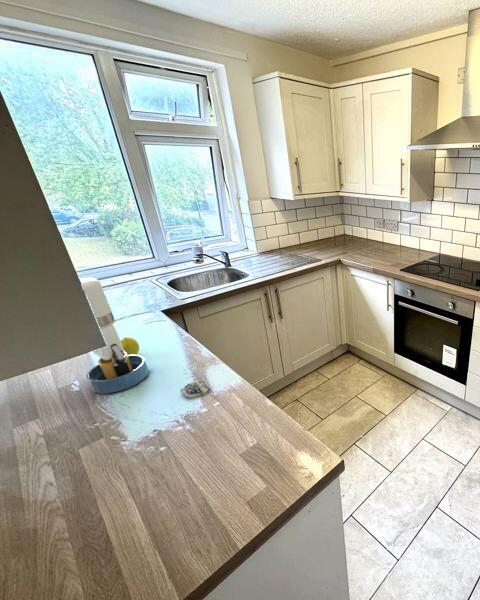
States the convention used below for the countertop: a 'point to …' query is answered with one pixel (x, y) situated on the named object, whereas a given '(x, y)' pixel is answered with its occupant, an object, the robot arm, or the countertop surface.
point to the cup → (108, 366)
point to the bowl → (119, 383)
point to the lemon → (130, 346)
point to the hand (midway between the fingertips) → (118, 370)
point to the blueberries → (194, 389)
